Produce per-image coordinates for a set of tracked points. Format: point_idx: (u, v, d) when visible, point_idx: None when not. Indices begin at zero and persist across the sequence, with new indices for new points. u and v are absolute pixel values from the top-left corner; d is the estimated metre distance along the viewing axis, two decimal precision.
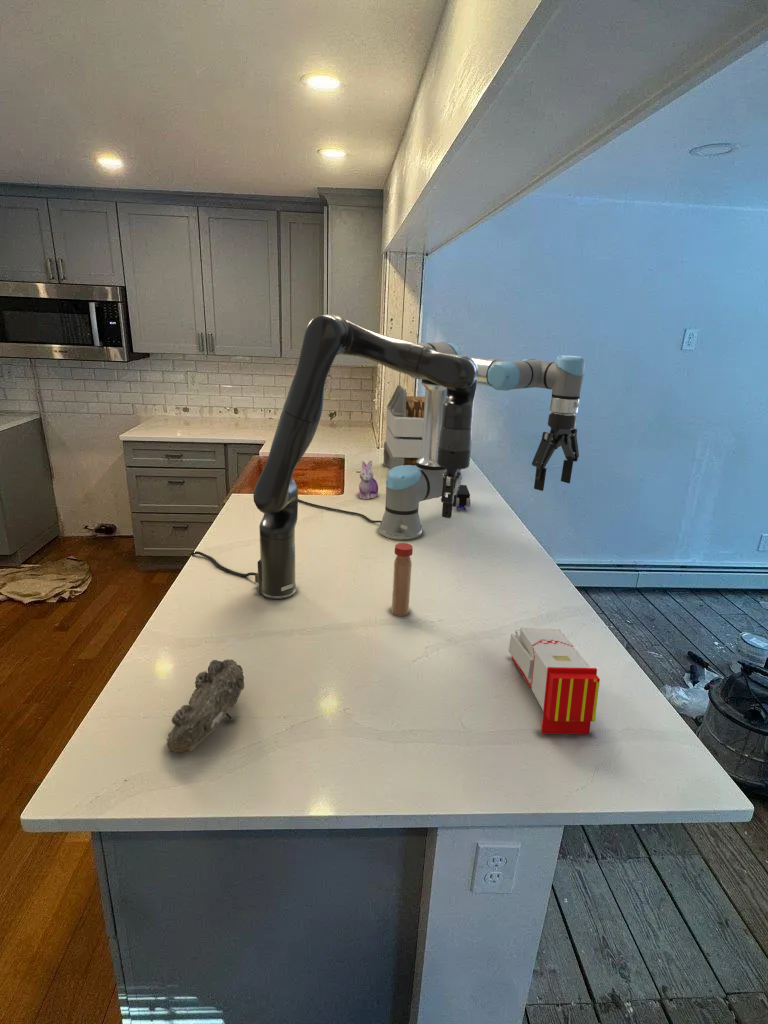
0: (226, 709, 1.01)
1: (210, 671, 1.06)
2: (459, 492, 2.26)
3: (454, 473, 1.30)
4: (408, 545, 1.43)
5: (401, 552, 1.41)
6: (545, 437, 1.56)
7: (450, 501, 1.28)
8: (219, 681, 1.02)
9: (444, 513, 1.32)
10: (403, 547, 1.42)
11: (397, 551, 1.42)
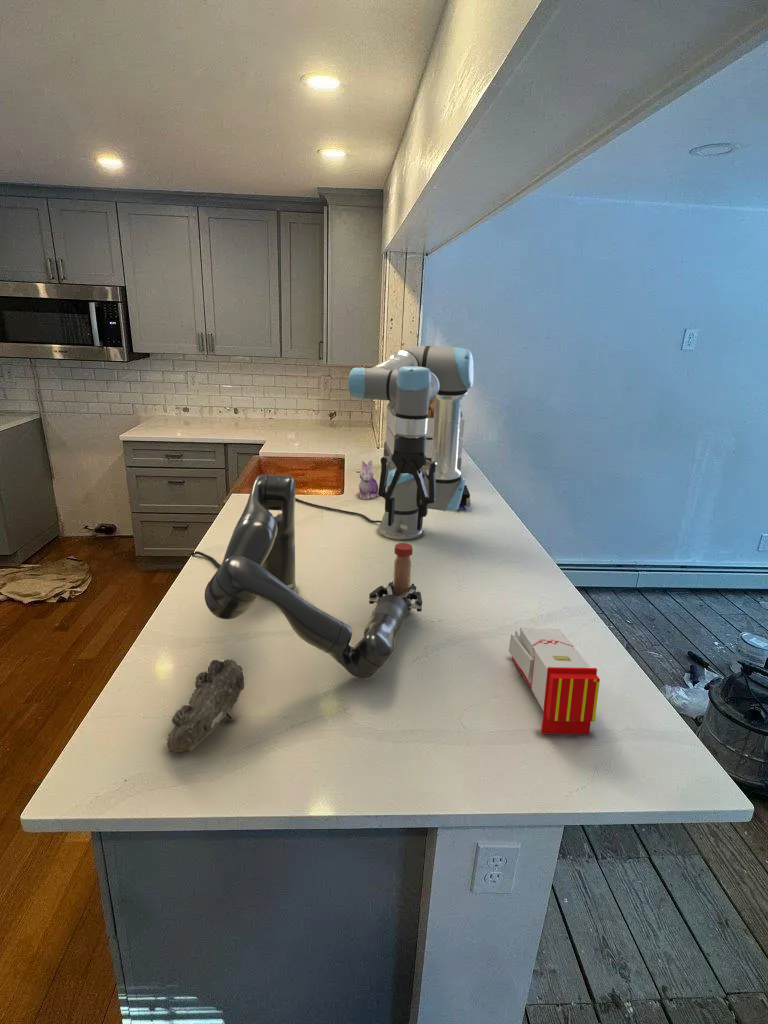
0: (226, 709, 1.01)
1: (210, 671, 1.06)
2: None
3: (408, 605, 1.38)
4: (408, 545, 1.43)
5: (401, 552, 1.41)
6: (435, 468, 1.34)
7: None
8: (219, 681, 1.02)
9: (415, 591, 1.47)
10: (403, 547, 1.42)
11: (397, 551, 1.42)
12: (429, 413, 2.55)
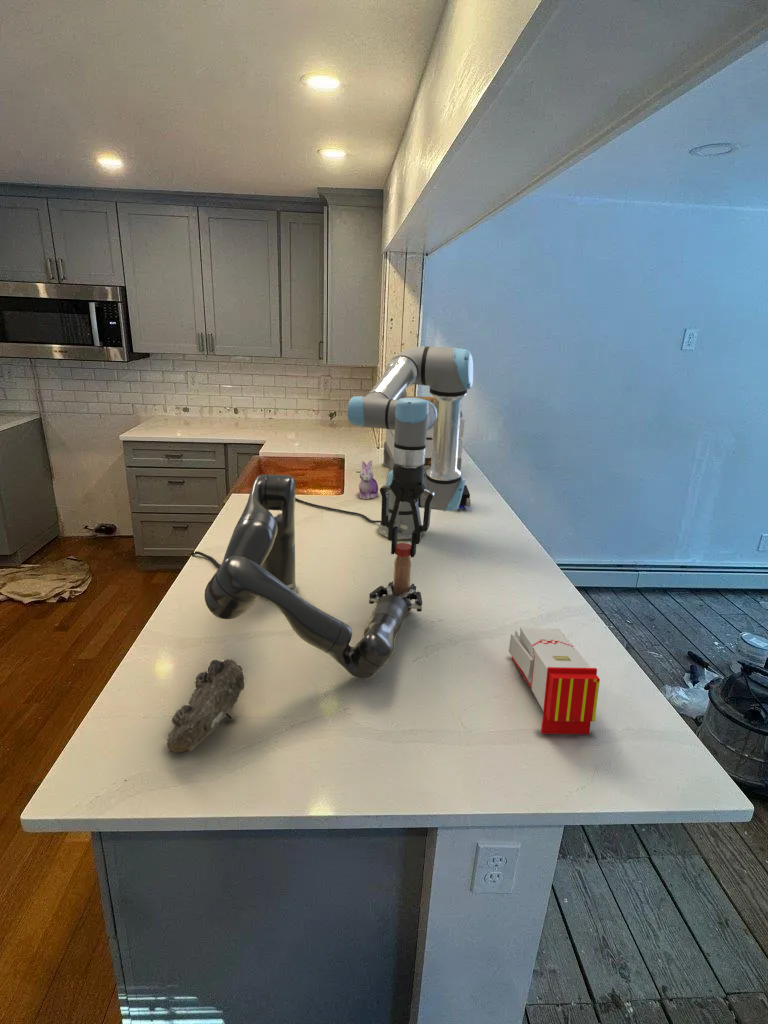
0: (226, 709, 1.01)
1: (210, 671, 1.06)
2: None
3: (408, 605, 1.38)
4: (408, 545, 1.43)
5: (401, 552, 1.41)
6: (432, 499, 1.36)
7: None
8: (219, 681, 1.02)
9: (415, 591, 1.47)
10: (403, 547, 1.42)
11: (397, 551, 1.42)
12: None
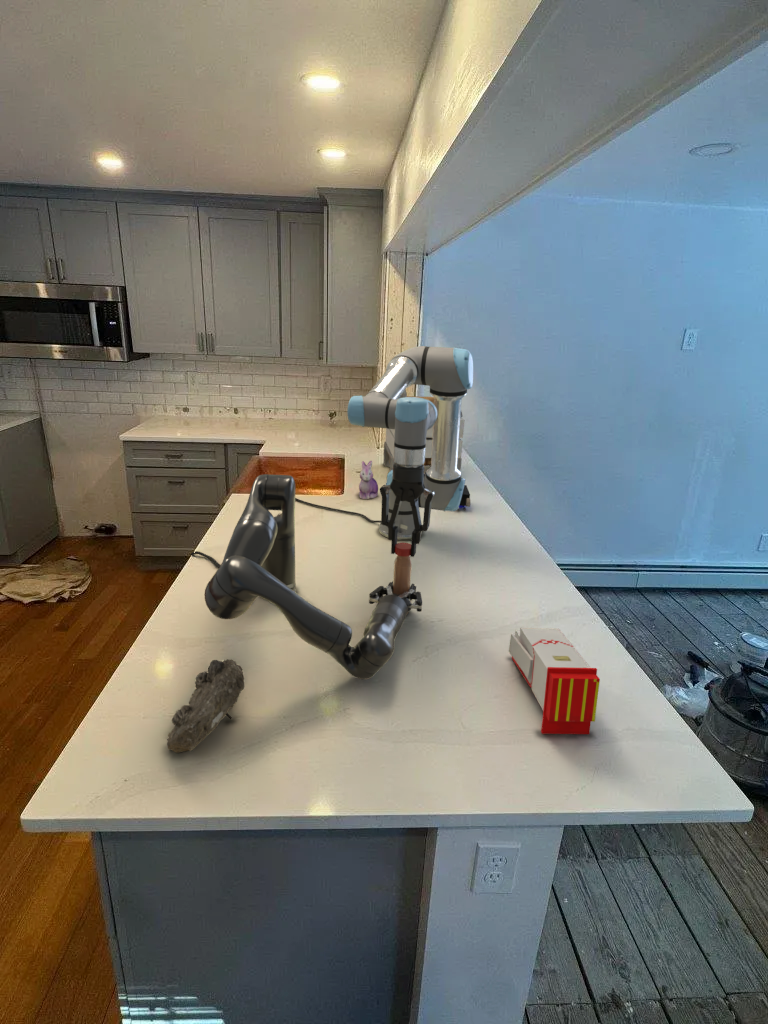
0: (226, 709, 1.01)
1: (210, 671, 1.06)
2: None
3: (408, 605, 1.38)
4: (399, 544, 1.43)
5: None
6: None
7: None
8: (219, 681, 1.02)
9: (415, 591, 1.47)
10: (406, 545, 1.43)
11: None
12: None
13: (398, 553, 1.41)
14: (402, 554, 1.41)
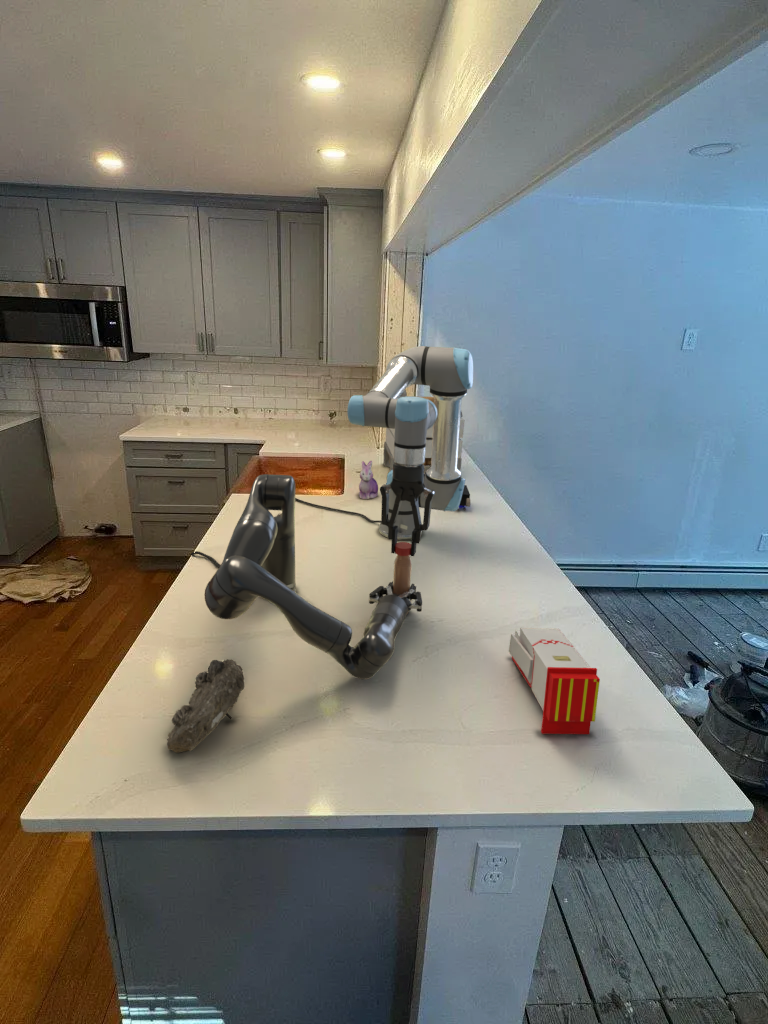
0: (226, 709, 1.01)
1: (210, 671, 1.06)
2: None
3: (408, 605, 1.38)
4: (405, 547, 1.41)
5: None
6: (432, 497, 1.36)
7: None
8: (219, 681, 1.02)
9: (415, 591, 1.47)
10: (401, 544, 1.43)
11: None
12: None
13: None
14: None
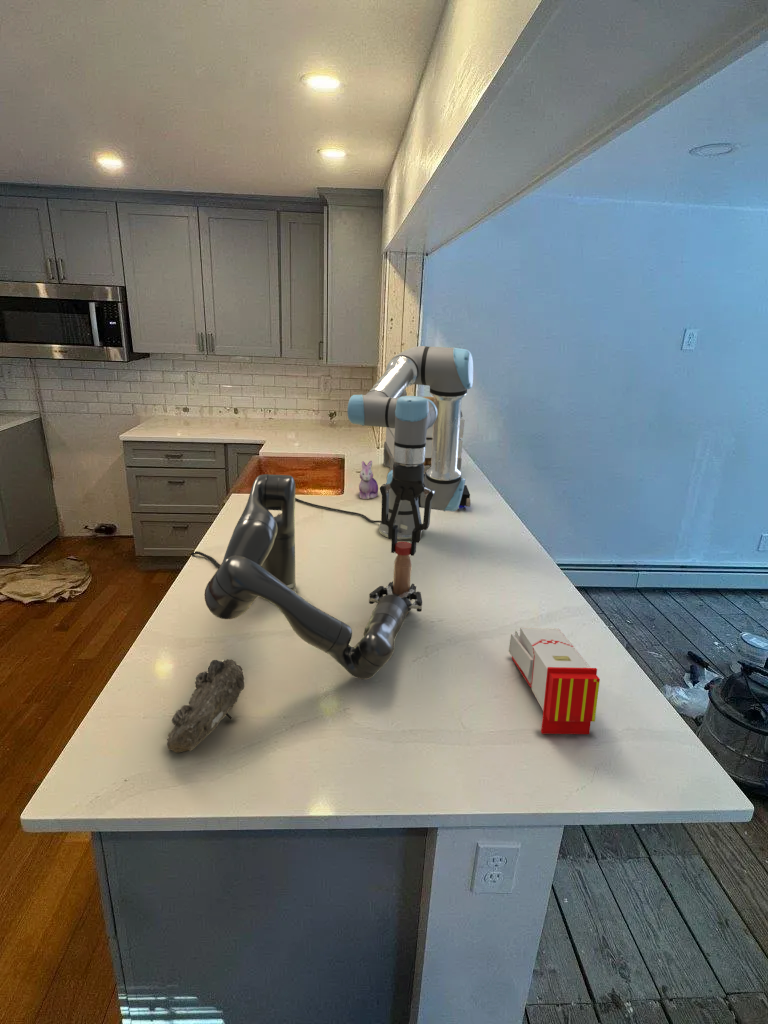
0: (226, 709, 1.01)
1: (210, 671, 1.06)
2: None
3: (408, 605, 1.38)
4: (406, 543, 1.43)
5: (405, 551, 1.41)
6: None
7: None
8: (219, 681, 1.02)
9: (415, 591, 1.47)
10: (405, 546, 1.42)
11: (401, 551, 1.41)
12: None
13: None
14: None
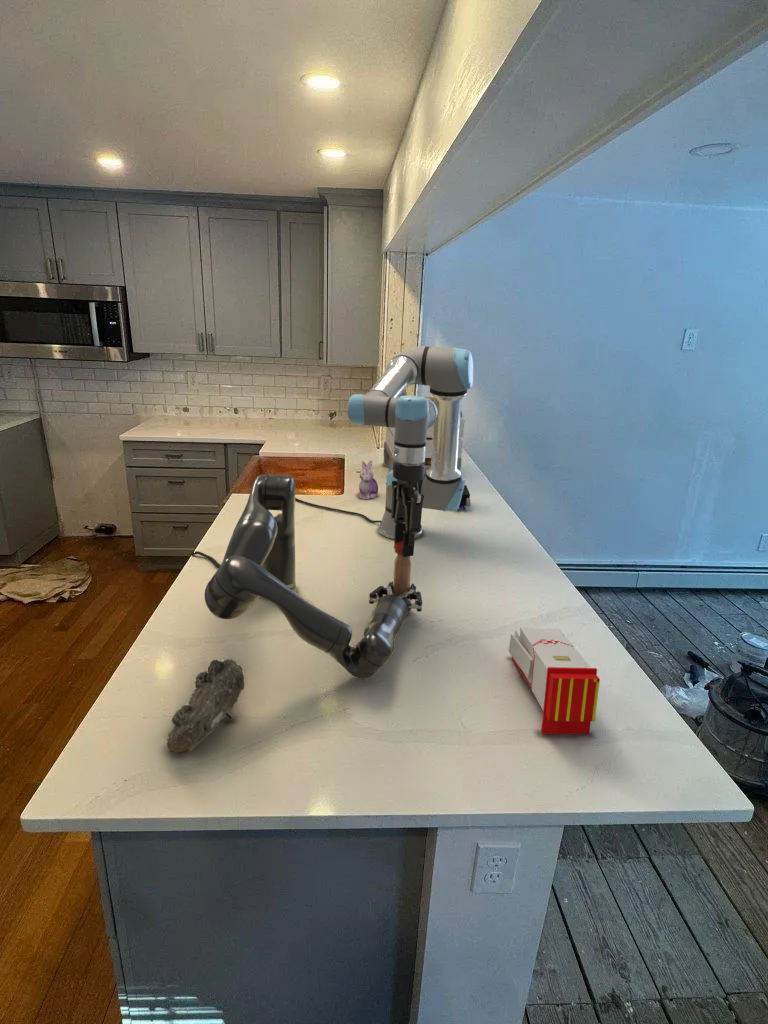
0: (226, 709, 1.01)
1: (210, 671, 1.06)
2: None
3: (408, 605, 1.38)
4: (398, 544, 1.42)
5: None
6: None
7: None
8: (219, 681, 1.02)
9: (415, 591, 1.47)
10: None
11: None
12: None
13: (402, 552, 1.41)
14: None
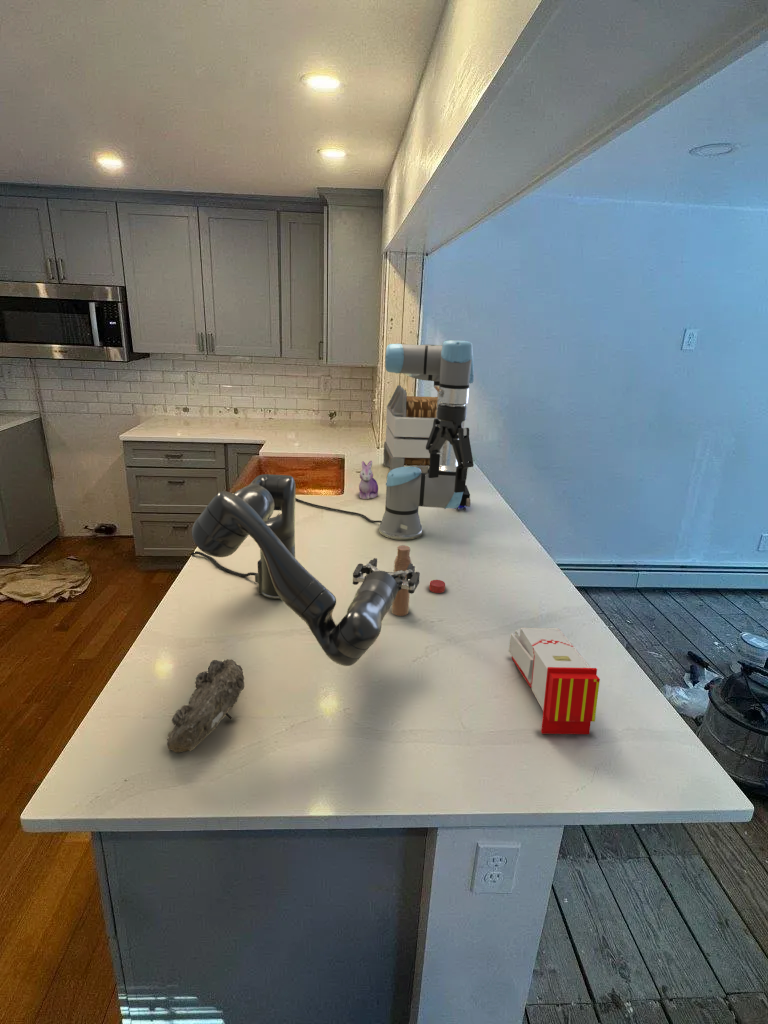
0: (226, 709, 1.01)
1: (210, 671, 1.06)
2: None
3: (398, 583, 1.21)
4: (433, 583, 1.61)
5: None
6: None
7: (419, 574, 1.25)
8: (219, 681, 1.02)
9: (414, 571, 1.30)
10: (438, 582, 1.61)
11: None
12: (429, 413, 2.55)
13: (436, 591, 1.59)
14: (440, 591, 1.59)
